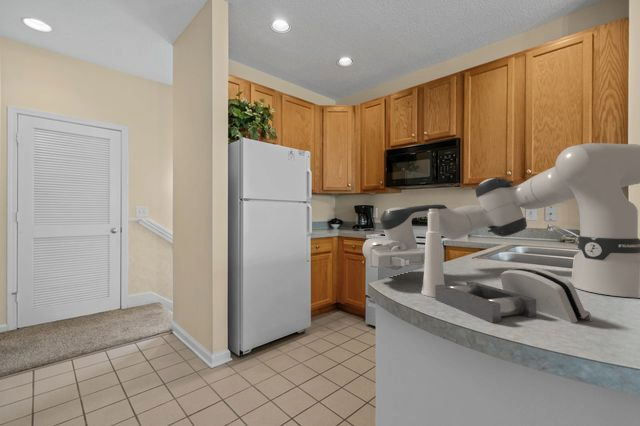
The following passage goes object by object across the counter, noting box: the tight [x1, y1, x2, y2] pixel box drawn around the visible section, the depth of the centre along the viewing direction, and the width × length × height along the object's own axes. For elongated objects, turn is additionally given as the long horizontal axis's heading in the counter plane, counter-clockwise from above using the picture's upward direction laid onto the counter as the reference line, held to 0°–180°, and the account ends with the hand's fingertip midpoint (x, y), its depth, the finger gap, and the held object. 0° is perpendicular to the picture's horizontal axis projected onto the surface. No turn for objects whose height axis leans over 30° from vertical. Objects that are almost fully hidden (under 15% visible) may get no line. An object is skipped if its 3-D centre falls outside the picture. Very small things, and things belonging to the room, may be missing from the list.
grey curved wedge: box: [499, 266, 593, 324], centre depth 65 cm, size 17×5×10 cm, turn 10°
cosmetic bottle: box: [420, 209, 446, 298], centre depth 76 cm, size 6×6×22 cm
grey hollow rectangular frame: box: [434, 281, 537, 324], centre depth 66 cm, size 12×16×4 cm
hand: (421, 262), depth 80 cm, fingers open, 8 cm apart
